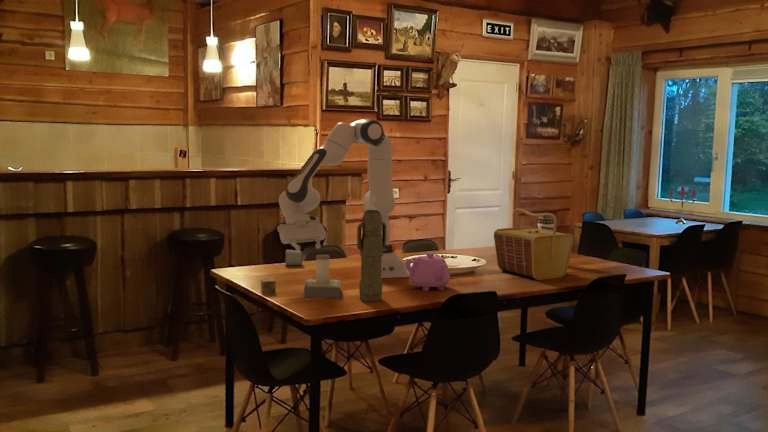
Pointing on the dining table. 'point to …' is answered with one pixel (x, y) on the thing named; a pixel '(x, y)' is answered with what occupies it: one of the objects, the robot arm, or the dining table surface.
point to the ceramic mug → (293, 258)
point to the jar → (322, 269)
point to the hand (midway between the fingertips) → (308, 248)
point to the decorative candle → (546, 223)
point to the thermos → (371, 255)
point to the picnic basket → (533, 250)
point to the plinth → (322, 289)
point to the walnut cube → (268, 286)
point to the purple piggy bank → (428, 272)
